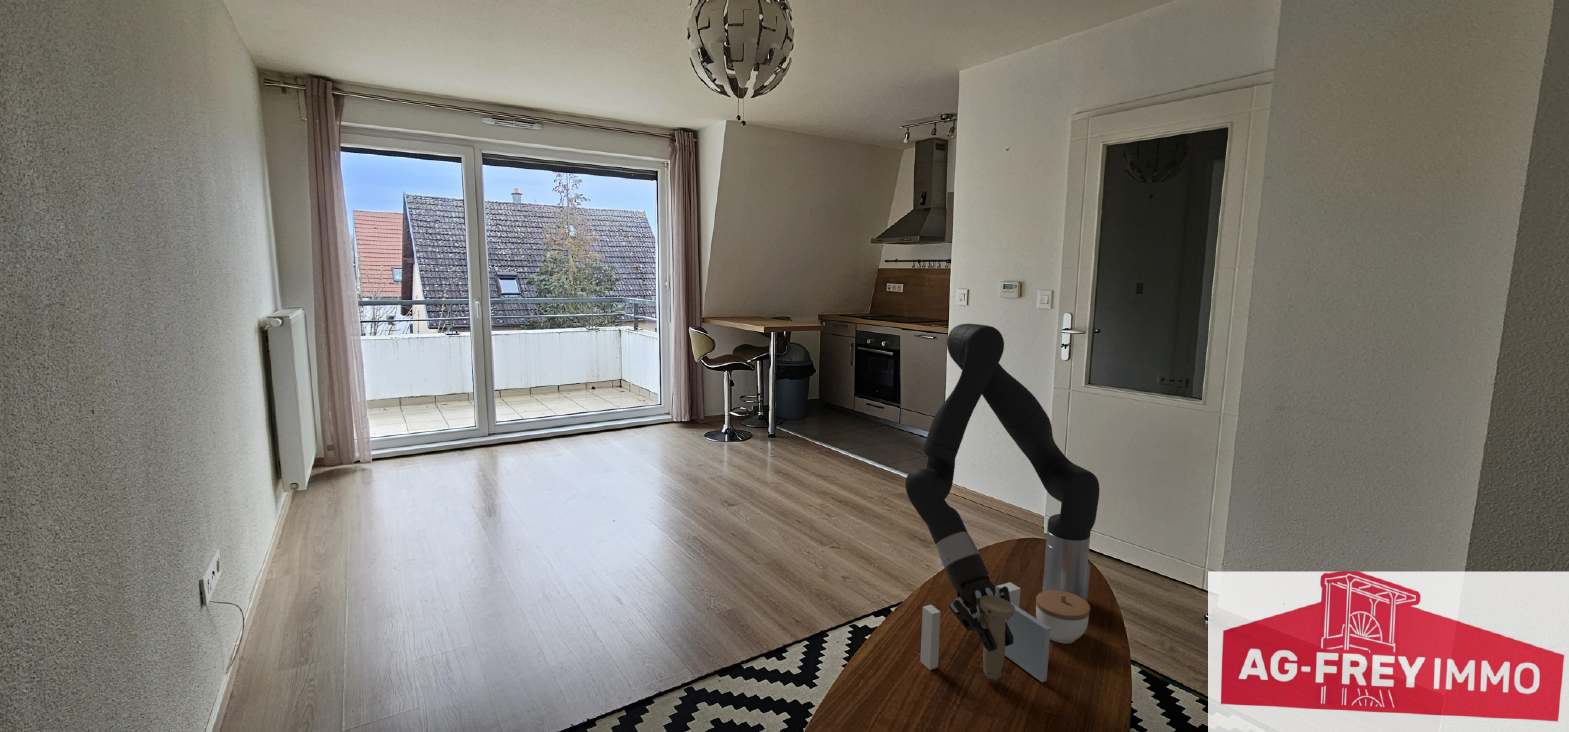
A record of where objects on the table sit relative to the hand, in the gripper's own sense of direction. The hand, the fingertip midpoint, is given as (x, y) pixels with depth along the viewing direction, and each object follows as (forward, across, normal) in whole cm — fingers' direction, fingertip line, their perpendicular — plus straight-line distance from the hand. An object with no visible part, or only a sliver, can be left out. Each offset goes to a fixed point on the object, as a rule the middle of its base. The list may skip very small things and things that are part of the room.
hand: (1001, 646), depth 127 cm
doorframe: (-2, +3, +14) cm, 14 cm away
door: (+2, +9, +9) cm, 12 cm away
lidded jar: (+1, +24, +11) cm, 27 cm away
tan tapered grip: (+4, 0, +6) cm, 7 cm away
